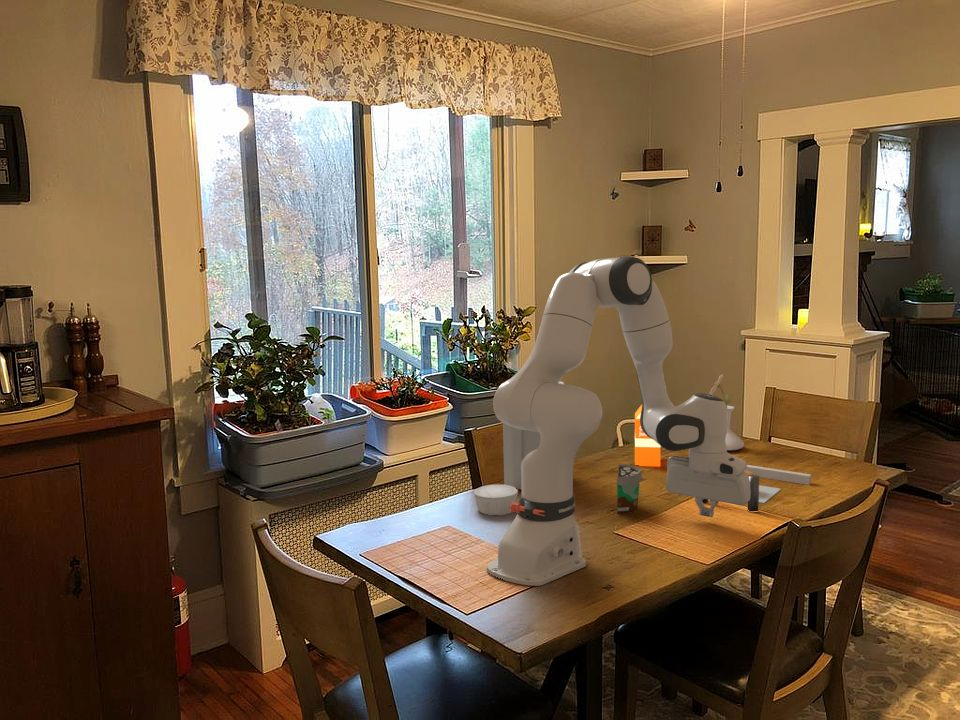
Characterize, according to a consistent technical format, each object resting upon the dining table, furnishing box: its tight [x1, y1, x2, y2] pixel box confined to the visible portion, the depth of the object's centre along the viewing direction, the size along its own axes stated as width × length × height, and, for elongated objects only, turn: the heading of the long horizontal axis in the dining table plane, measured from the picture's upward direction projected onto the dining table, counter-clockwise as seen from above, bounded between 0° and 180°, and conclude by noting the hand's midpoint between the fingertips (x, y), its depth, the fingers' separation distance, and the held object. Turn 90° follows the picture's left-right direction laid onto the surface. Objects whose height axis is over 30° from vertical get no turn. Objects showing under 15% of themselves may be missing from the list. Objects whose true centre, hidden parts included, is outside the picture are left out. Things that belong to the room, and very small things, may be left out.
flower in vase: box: [708, 373, 745, 451], centre depth 260 cm, size 13×11×25 cm
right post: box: [747, 475, 760, 512], centre depth 203 cm, size 3×3×9 cm
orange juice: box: [634, 404, 662, 467], centre depth 248 cm, size 8×9×20 cm
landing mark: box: [759, 484, 782, 504], centre depth 219 cm, size 14×14×1 cm
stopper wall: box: [745, 464, 812, 486], centre depth 231 cm, size 2×24×2 cm, turn 52°
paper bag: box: [502, 380, 565, 490], centre depth 227 cm, size 19×15×28 cm
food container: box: [616, 463, 643, 515], centre depth 207 cm, size 12×6×10 cm, turn 168°
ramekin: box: [473, 484, 519, 516], centre depth 209 cm, size 11×11×5 cm
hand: (706, 515), depth 197 cm, fingers closed
